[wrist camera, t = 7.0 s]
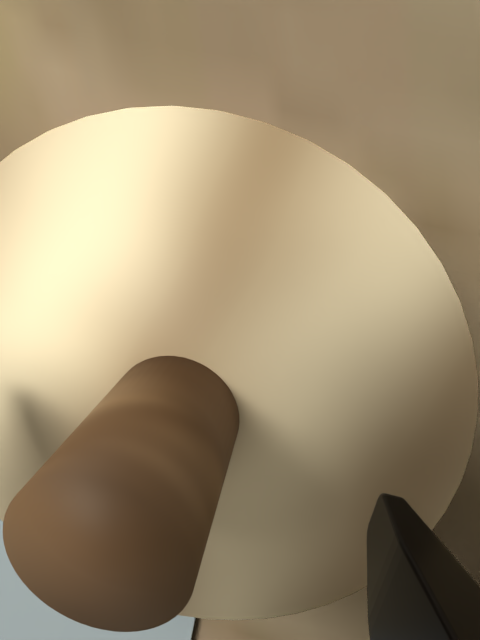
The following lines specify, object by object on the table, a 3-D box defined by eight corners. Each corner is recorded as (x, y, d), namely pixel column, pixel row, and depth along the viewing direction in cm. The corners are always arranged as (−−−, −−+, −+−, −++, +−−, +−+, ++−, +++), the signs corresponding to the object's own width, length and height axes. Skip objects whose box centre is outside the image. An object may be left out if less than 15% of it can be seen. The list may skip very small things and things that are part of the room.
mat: (207, 557, 20) (204, 566, 19) (167, 762, 25) (164, 773, 25) (-118, 470, 21) (-127, 477, 21) (-87, 682, 27) (-94, 691, 26)
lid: (562, 175, 8) (881, 188, 4) (372, 635, 13) (406, 903, 8) (-66, 64, 9) (-436, -35, 5) (-36, 523, 14) (-210, 702, 9)
